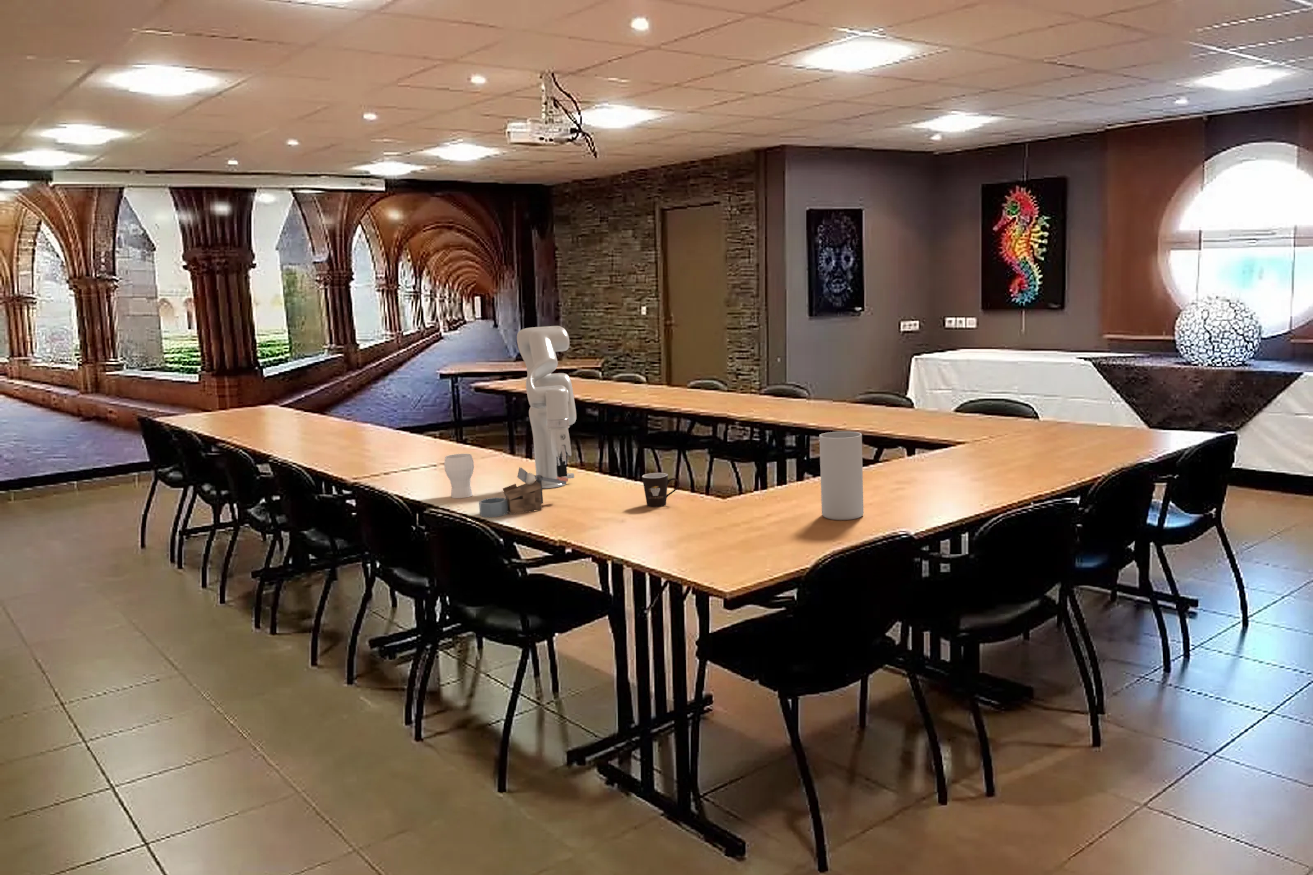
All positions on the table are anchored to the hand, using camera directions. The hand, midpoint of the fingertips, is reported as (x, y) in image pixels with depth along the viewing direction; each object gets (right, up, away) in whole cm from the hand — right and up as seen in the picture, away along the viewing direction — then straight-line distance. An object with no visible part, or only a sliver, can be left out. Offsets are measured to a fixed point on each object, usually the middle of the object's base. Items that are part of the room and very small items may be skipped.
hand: (562, 476), depth 341 cm
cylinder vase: (+89, -11, -41) cm, 99 cm away
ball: (-10, -1, -9) cm, 14 cm away
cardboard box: (-12, -11, -6) cm, 17 cm away
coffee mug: (+34, -9, -13) cm, 38 cm away
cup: (-39, -8, +20) cm, 44 cm away
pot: (-22, -12, -12) cm, 28 cm away
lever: (-6, -2, -6) cm, 8 cm away
